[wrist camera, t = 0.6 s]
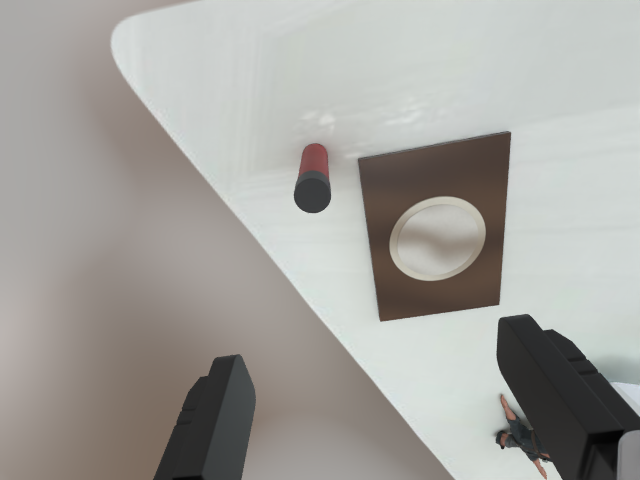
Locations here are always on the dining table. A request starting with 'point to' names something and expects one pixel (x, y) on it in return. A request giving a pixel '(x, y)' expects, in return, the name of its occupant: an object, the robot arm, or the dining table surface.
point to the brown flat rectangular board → (437, 225)
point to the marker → (313, 180)
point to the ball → (529, 441)
